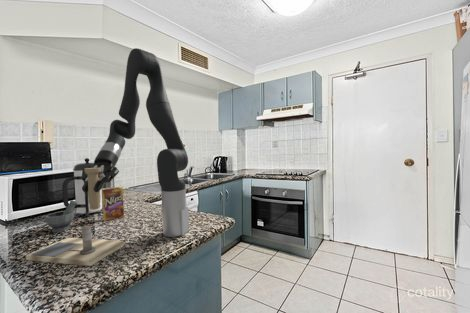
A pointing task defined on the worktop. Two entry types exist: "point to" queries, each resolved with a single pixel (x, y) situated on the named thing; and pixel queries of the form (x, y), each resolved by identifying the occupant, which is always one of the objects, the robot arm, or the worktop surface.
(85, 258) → the plate
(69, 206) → the mortar and pestle
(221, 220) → the worktop surface
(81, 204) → the coffee press
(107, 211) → the candy box
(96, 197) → the handle
